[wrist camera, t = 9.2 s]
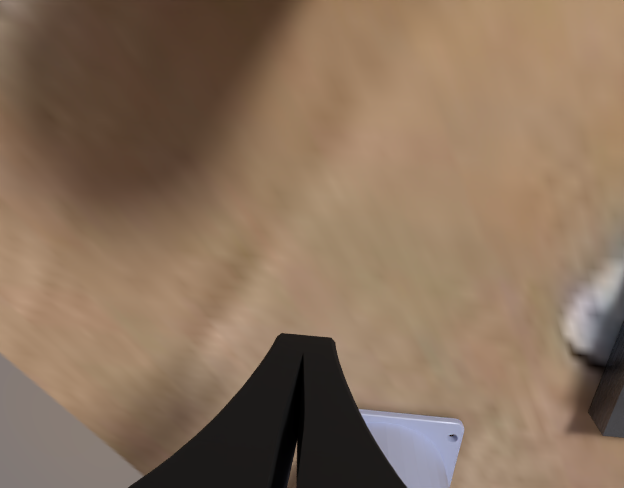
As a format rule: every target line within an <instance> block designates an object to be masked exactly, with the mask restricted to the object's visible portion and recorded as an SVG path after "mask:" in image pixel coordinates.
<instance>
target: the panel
mask: <svg viewBox="0 0 624 488" xmlns="http://www.w3.org/2000/svg"><path fill="white" fill-rule="evenodd" d="M588 413H589V415H590V416H591V418H592V419H593V421H594V423H595V424H596V426H597V427H598V429H599V431H600V432H601V434H602V435H603V436H612V437H622V438H624V323H623V325H622V328H621V330H620V333H619V335H618V338H617V341H616V343H615V346H614V348H613V351H612V353H611V356H610V358H609V361H608V363H607V366H606V369H605V371H604V374H603V376H602V379H601V381H600V384H599V386H598V389H597V391H596V394H595V397H594V399H593V402H592V404H591V407H590V409H589V412H588Z"/></svg>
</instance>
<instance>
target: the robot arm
mask: <svg viewBox="0 0 624 488" xmlns="http://www.w3.org/2000/svg"><path fill="white" fill-rule="evenodd" d="M453 434H454V436H449V435H453ZM463 434H464V426H463V423H462V422H461V421H460V420H459V419H455V418H445V417H435V416H425V415H415V414H404V413H394V412H384V411H374V410H364V409H358V407H357V405H356V403H355V401H354V399H353V396H352V394H351V392H350V389H349V387H348V385H347V382H346V380H345V377H344V374H343V371H342V368H341V365H340V362H339V359H338V355H337V351H336V345H335V342H334V340H333V339H332V338H328V337H317V336H307V335H296V334H285V333H281V334H280V335H279V336H277V338H276V340H275V342H274V343H273V345H272V347H271V348H270V350H269V352H268V353H267V355H266V356H265V358H264V359H263V360H262V362H261V363H260V365H259V366H258V367H257V369H256V370H255V371H254V373H253V374H252V375H251V377H250V378H249V379H248V380H247V382H246V383H245V384H244V386H243V387H242V388H241V389H240V390H239V391H238V393H237V394H236V395H235V396H234V397H233V398H232V399H231V400H230V402H229V403H228V404H227V405H226V406H225V407H224V408H223V409H222V410H221V411H220V412H219V414H218V415H217V416H216V417H215V418H214V419H213V420H212V421H211V422H210V423H209V424H208V425H206V426H205V427H204V428H203V429H202V430H201V431H200V432H199V433H198V434H197V435H196V436H195V437H193V438H192V439H191V440H190V441H189V442H188V443H186V444H185V445H184V446H183V447H182V448H181V449H179V450H178V451H177V452H176V453H175V454H173V455H172V456H171V457H170V458H168V459H167V460H166V461H165V462H163V463H162V464H161V465H159V466H158V467H157V468H155V469H154V470H153V471H151V472H150V473H148V474H147V475H145V476H144V477H143V478H141V479H140V480H138V481H137V482H135V483H134V484H132V485H131V486H130V487H128V488H287V485H288V480H289V475H290V471H291V466H292V462H293V457H294V452H295V448H296V443H297V488H450V484H451V480H452V476H453V472H454V468H455V464H456V461H457V457H458V453H459V449H460V445H461V441H462V437H463Z"/></svg>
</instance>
